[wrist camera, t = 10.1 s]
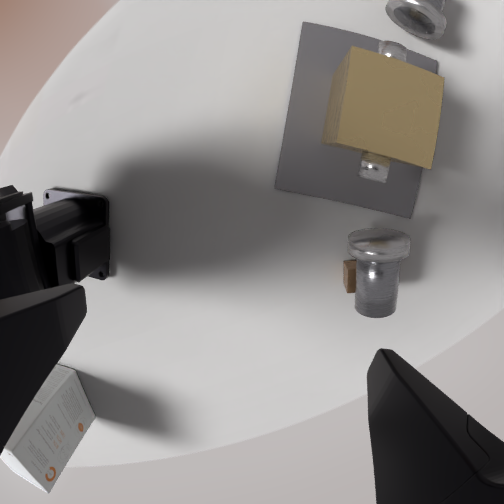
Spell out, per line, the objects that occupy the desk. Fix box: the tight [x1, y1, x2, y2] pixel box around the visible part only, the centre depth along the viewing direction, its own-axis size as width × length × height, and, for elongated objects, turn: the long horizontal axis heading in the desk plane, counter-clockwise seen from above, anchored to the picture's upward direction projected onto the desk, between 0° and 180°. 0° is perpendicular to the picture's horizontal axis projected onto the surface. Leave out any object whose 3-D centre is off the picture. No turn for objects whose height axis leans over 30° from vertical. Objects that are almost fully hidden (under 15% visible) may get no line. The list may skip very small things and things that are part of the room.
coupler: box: [321, 41, 444, 183], centre depth 13 cm, size 4×7×6 cm, turn 171°
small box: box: [0, 364, 96, 493], centre depth 23 cm, size 8×6×13 cm
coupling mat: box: [274, 22, 437, 219], centre depth 16 cm, size 9×11×1 cm
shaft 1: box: [344, 228, 410, 318], centre depth 17 cm, size 4×4×5 cm
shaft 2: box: [386, 0, 447, 40], centre depth 11 cm, size 4×4×5 cm
